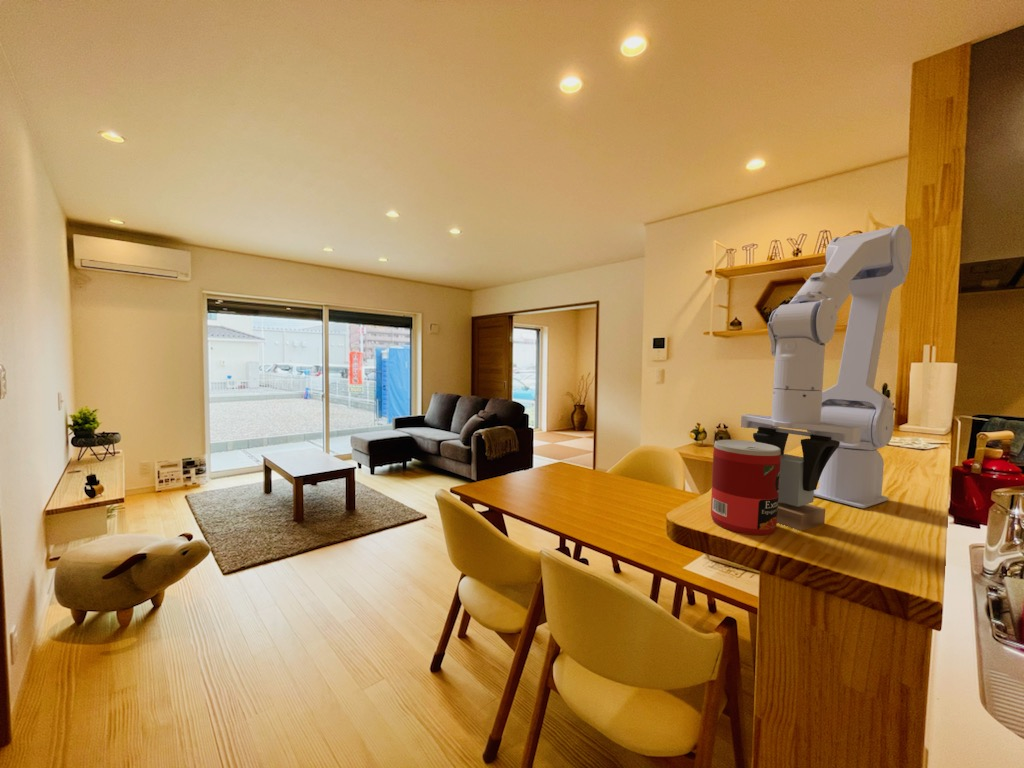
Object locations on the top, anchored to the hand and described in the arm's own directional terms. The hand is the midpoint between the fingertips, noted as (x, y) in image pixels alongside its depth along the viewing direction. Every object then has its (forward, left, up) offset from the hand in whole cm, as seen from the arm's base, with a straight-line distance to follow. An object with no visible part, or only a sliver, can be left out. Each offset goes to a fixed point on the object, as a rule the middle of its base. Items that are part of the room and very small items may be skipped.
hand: (791, 485), depth 60 cm
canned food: (+8, -2, -5) cm, 10 cm away
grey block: (0, 0, -2) cm, 2 cm away
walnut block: (0, 0, -5) cm, 5 cm away
